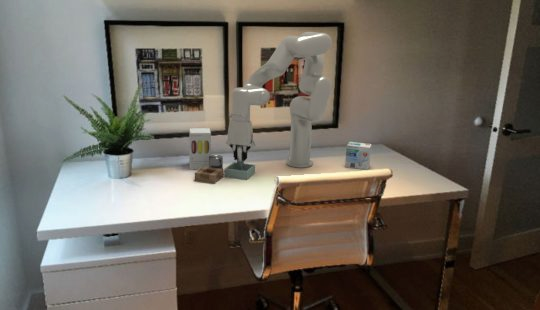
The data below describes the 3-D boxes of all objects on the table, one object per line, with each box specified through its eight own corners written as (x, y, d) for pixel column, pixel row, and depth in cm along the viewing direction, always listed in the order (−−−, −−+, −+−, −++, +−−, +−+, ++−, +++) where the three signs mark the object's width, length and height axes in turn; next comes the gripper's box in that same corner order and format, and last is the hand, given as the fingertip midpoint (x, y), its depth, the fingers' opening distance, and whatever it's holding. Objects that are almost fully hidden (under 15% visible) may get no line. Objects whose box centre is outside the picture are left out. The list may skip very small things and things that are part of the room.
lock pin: (237, 168, 206) (238, 139, 202) (245, 169, 205) (246, 140, 201) (234, 170, 203) (235, 141, 199) (242, 171, 202) (243, 142, 198)
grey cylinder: (212, 169, 211) (212, 152, 208) (224, 171, 209) (224, 154, 207) (206, 173, 205) (206, 156, 203) (219, 175, 203) (219, 157, 201)
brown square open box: (204, 174, 204) (204, 166, 203) (223, 176, 201) (223, 169, 200) (194, 180, 196) (194, 172, 195) (214, 183, 193) (214, 175, 192)
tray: (233, 169, 211) (233, 162, 210) (255, 172, 208) (255, 164, 207) (224, 176, 202) (224, 168, 201) (247, 179, 199) (247, 171, 198)
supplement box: (189, 169, 209) (189, 132, 204) (189, 163, 218) (188, 127, 213) (211, 169, 211) (211, 132, 206) (210, 162, 220) (209, 127, 215)
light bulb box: (344, 167, 219) (346, 144, 216) (347, 163, 226) (348, 141, 222) (367, 170, 216) (369, 147, 213) (369, 166, 222) (371, 143, 219)
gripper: (219, 117, 196) (219, 159, 202) (256, 121, 192) (255, 164, 197) (226, 114, 203) (226, 155, 209) (262, 117, 199) (261, 159, 204)
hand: (240, 159), depth 203 cm, fingers closed on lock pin, 3 cm apart
